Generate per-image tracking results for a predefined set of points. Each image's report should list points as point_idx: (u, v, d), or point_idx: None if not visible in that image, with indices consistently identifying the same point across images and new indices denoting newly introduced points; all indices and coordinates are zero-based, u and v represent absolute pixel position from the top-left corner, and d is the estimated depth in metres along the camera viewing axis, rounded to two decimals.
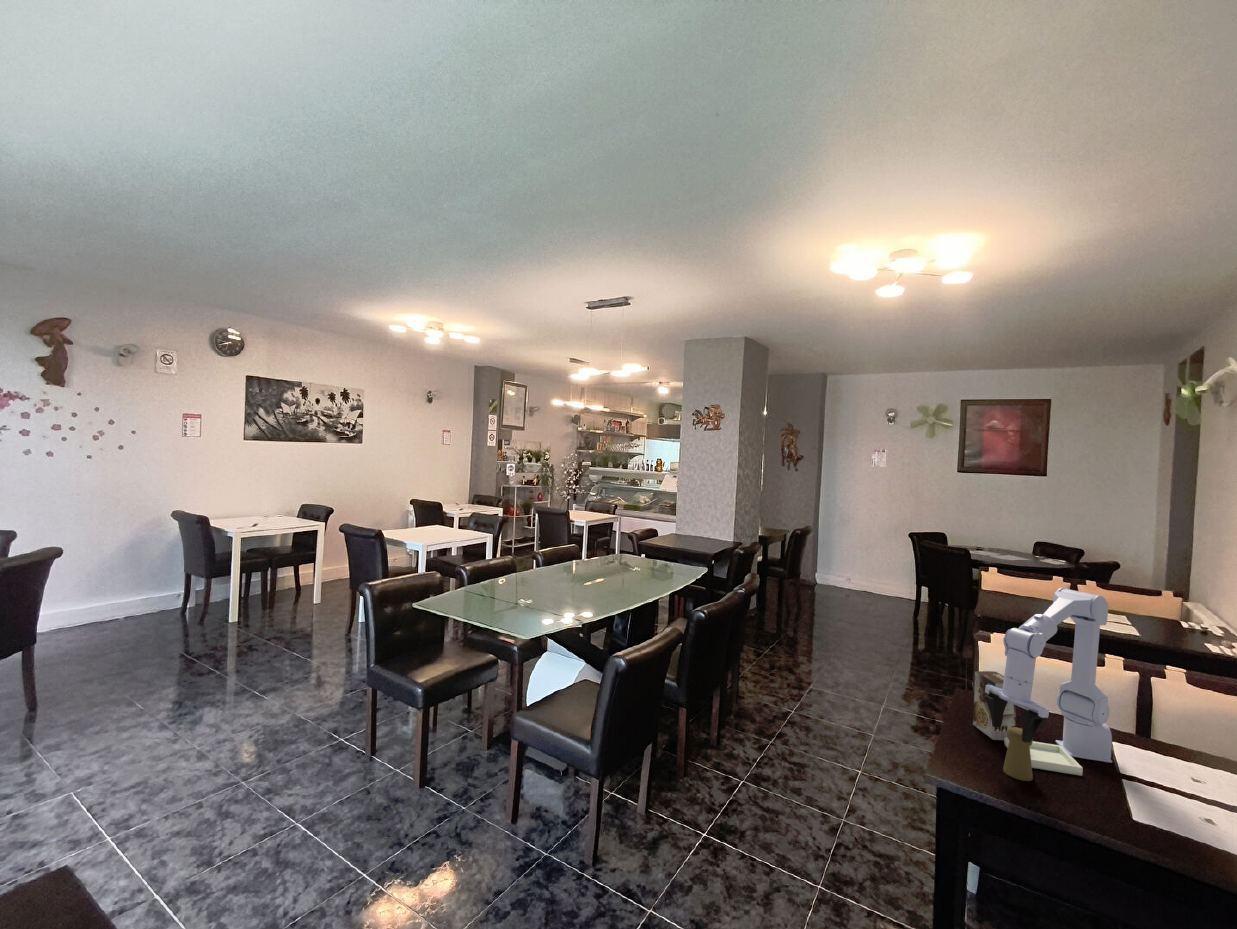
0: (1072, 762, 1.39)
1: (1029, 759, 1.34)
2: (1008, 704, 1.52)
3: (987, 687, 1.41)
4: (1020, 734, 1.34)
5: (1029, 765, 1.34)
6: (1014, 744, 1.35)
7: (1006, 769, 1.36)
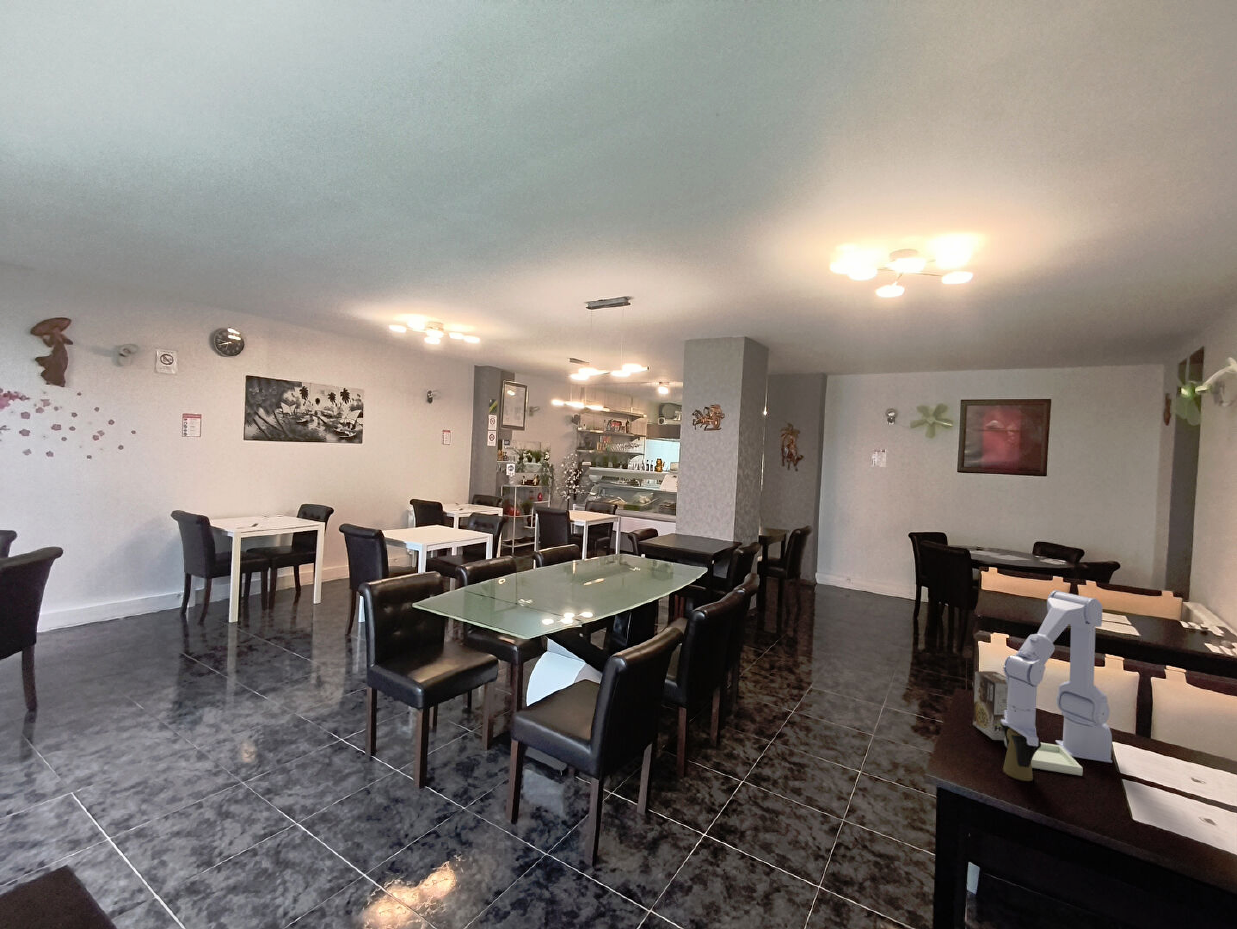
0: (1072, 762, 1.39)
1: None
2: None
3: (1004, 712, 1.42)
4: (1020, 734, 1.34)
5: None
6: (1014, 744, 1.35)
7: (1006, 769, 1.36)
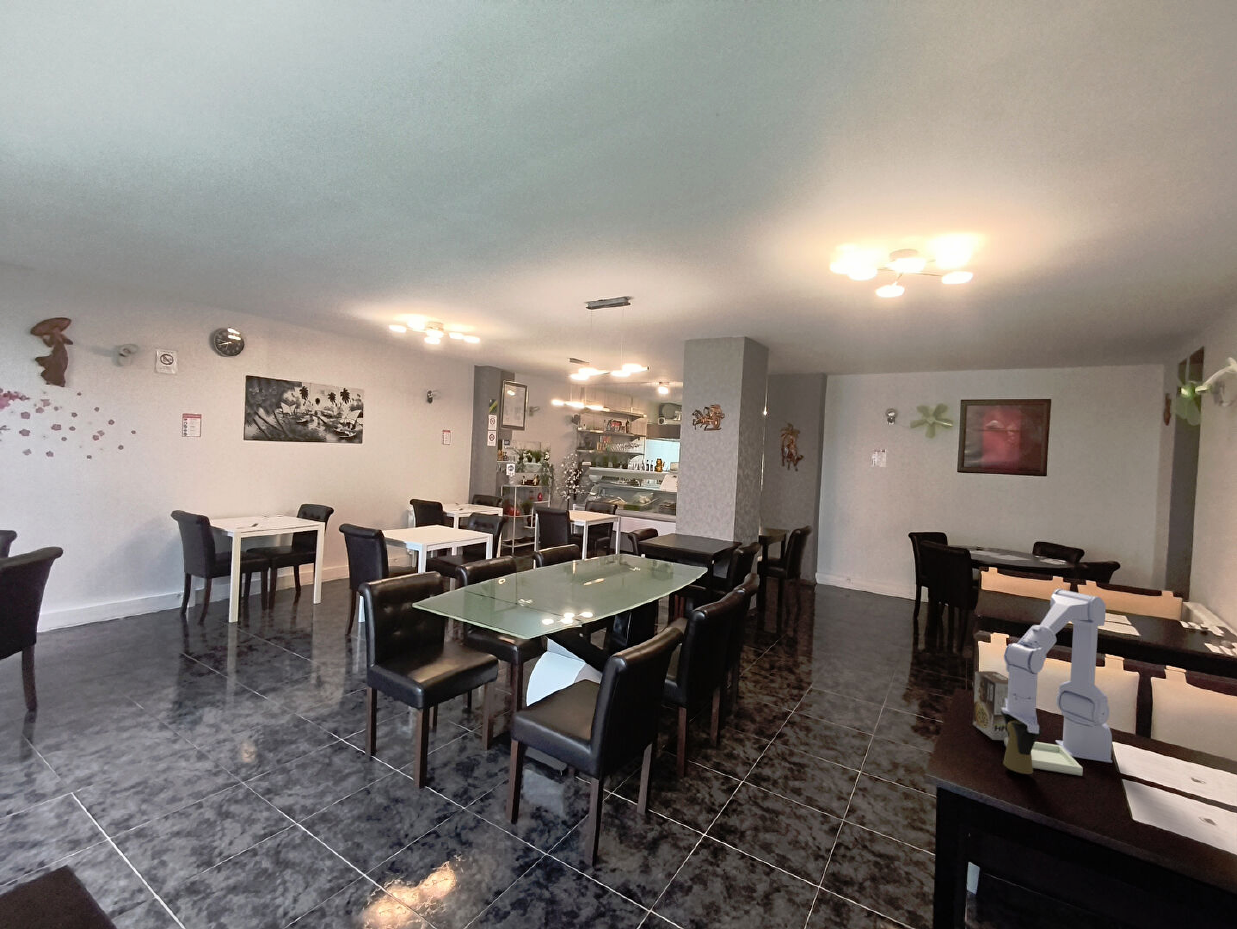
0: (1072, 762, 1.39)
1: None
2: None
3: (1005, 701, 1.42)
4: None
5: (1030, 758, 1.33)
6: (1015, 737, 1.35)
7: (1007, 763, 1.36)
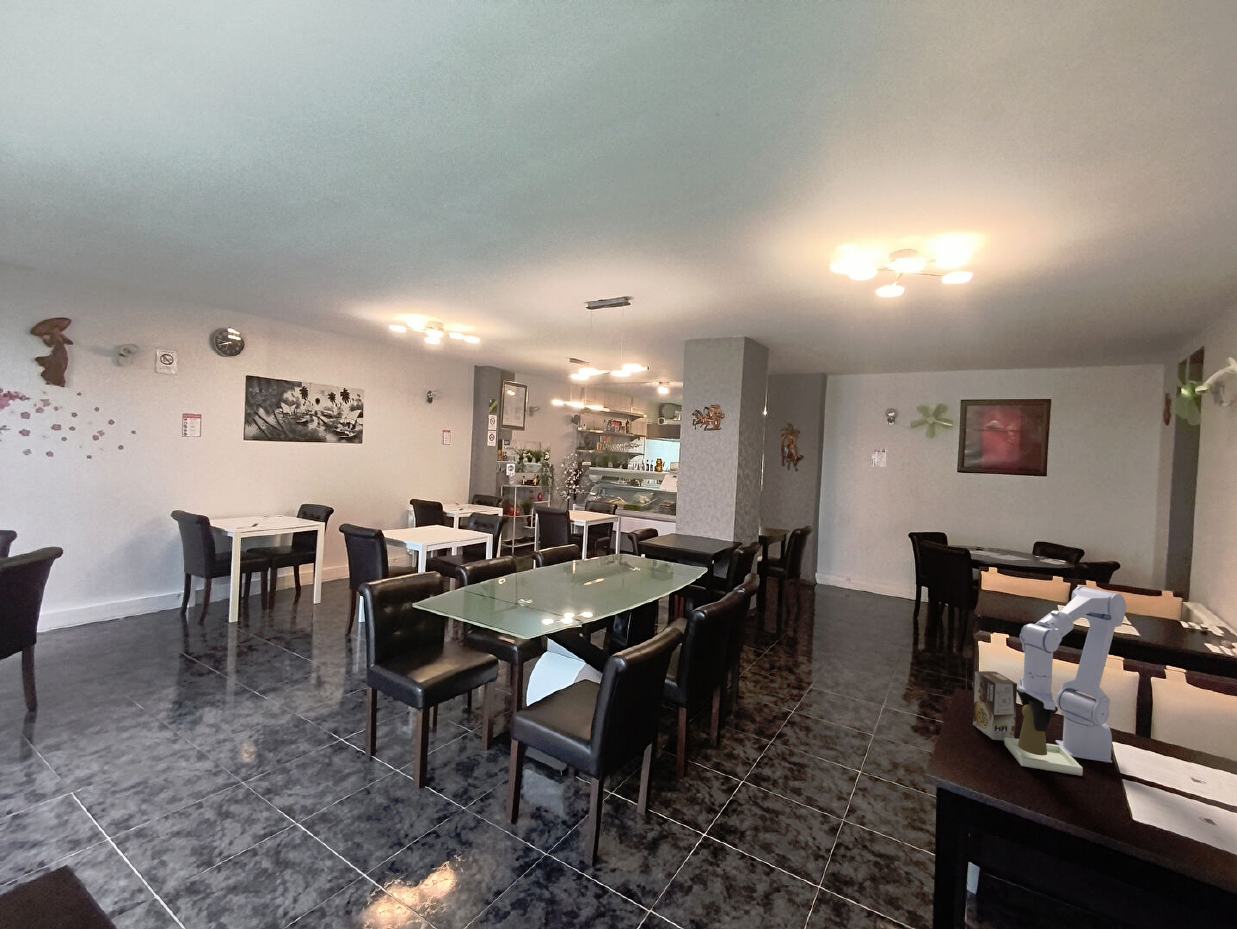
0: (1072, 762, 1.39)
1: (1044, 734, 1.38)
2: (1008, 704, 1.52)
3: (1020, 680, 1.47)
4: None
5: (1044, 740, 1.38)
6: (1030, 720, 1.39)
7: (1022, 745, 1.40)
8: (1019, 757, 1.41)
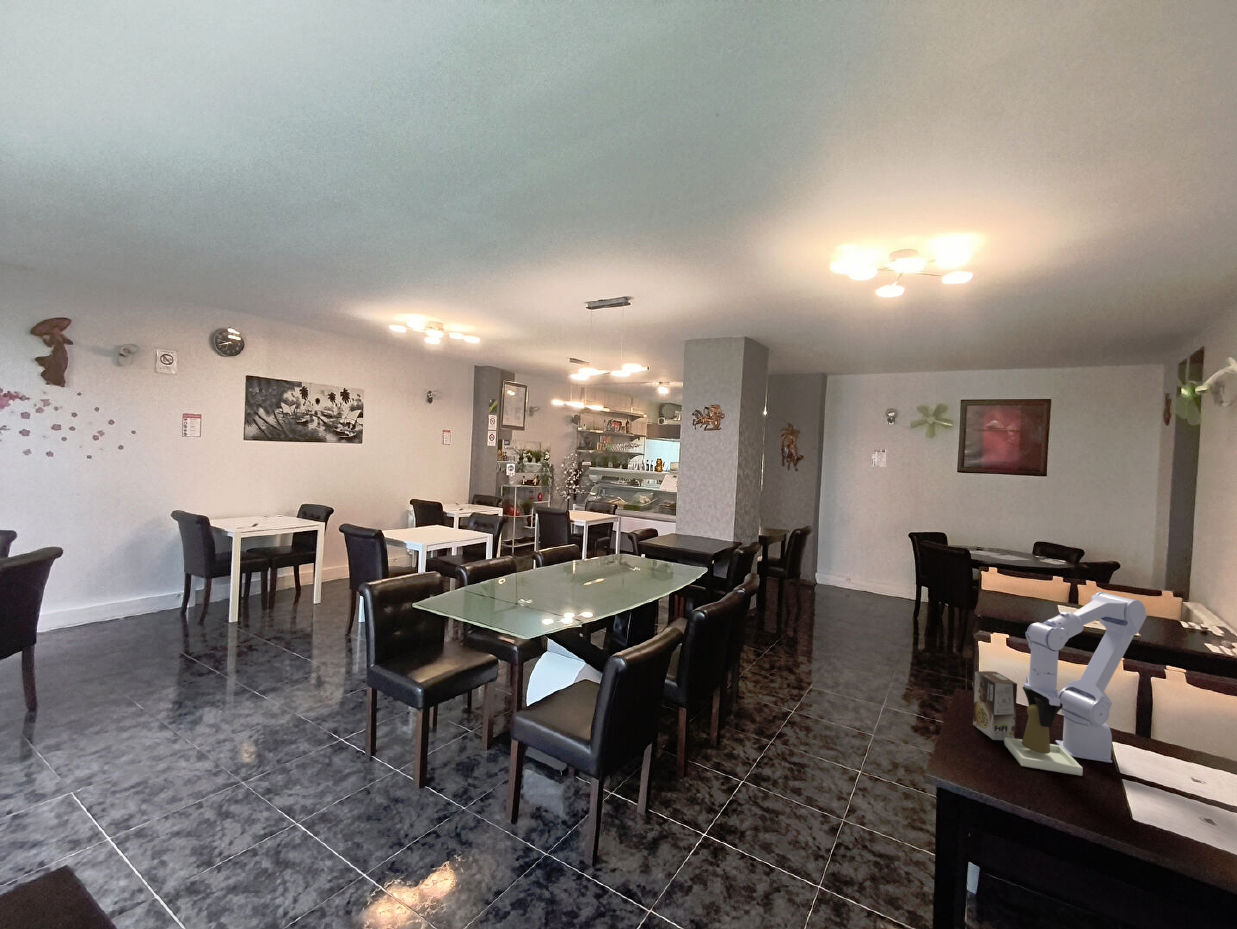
0: (1072, 762, 1.39)
1: (1048, 733, 1.42)
2: (1008, 704, 1.52)
3: (1027, 678, 1.51)
4: None
5: (1048, 739, 1.42)
6: (1034, 720, 1.43)
7: (1026, 743, 1.44)
8: (1019, 757, 1.41)
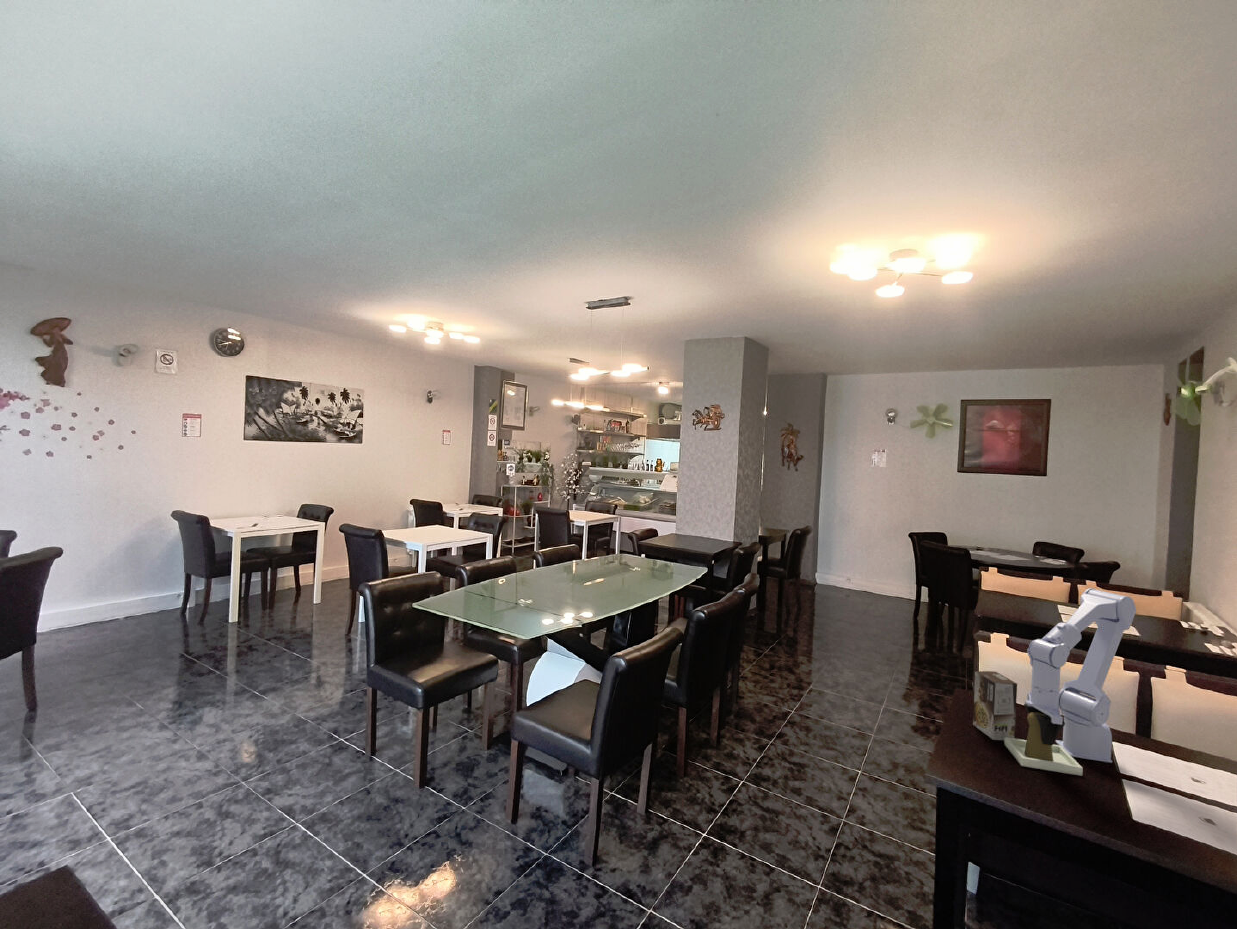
0: (1072, 762, 1.39)
1: None
2: (1008, 704, 1.52)
3: (1028, 694, 1.49)
4: None
5: (1050, 747, 1.41)
6: (1035, 728, 1.42)
7: (1028, 752, 1.43)
8: (1019, 757, 1.41)
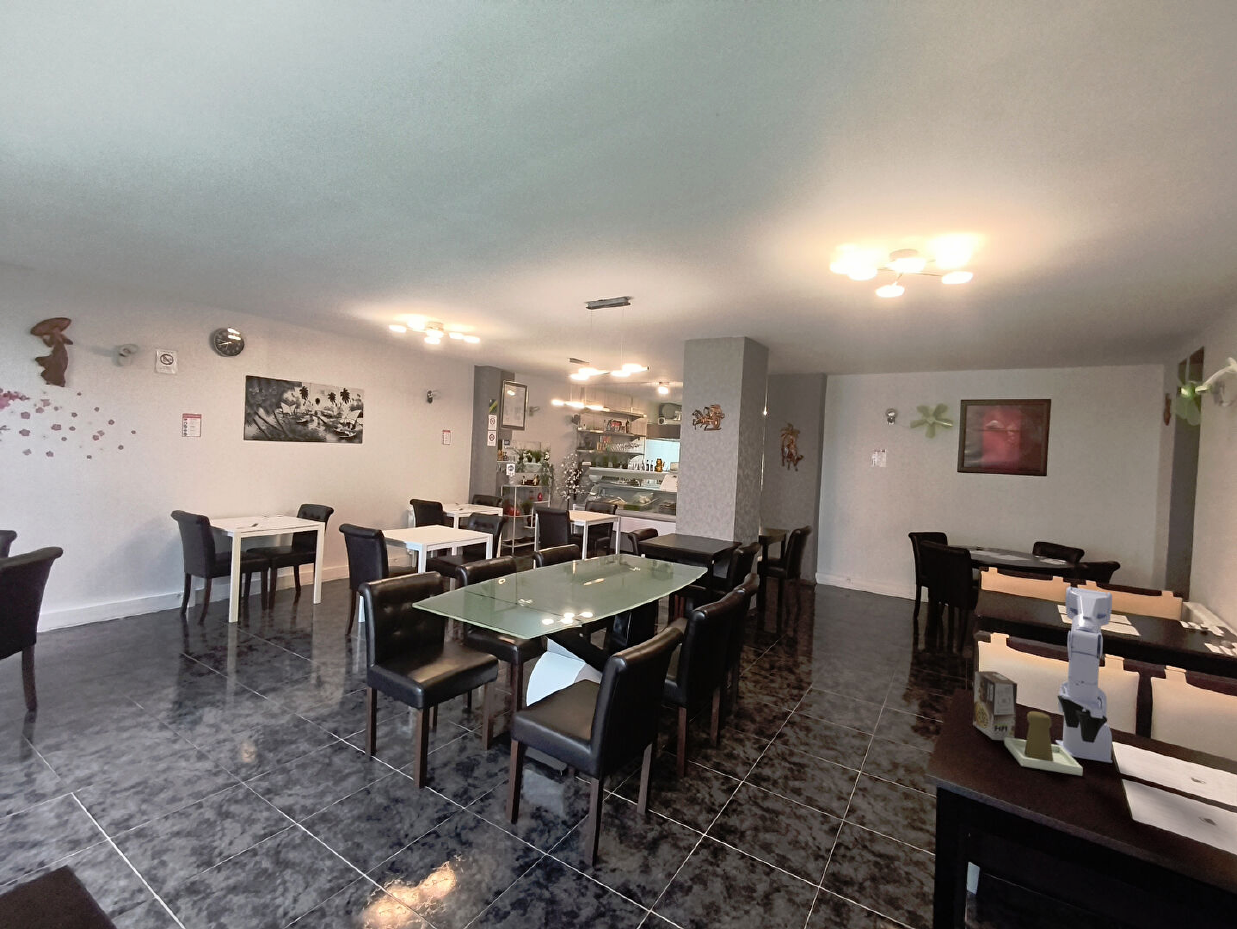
0: (1072, 762, 1.39)
1: (1049, 741, 1.41)
2: (1008, 704, 1.52)
3: (1063, 688, 1.42)
4: (1040, 716, 1.42)
5: (1050, 746, 1.41)
6: (1035, 726, 1.42)
7: (1028, 752, 1.43)
8: (1019, 757, 1.41)
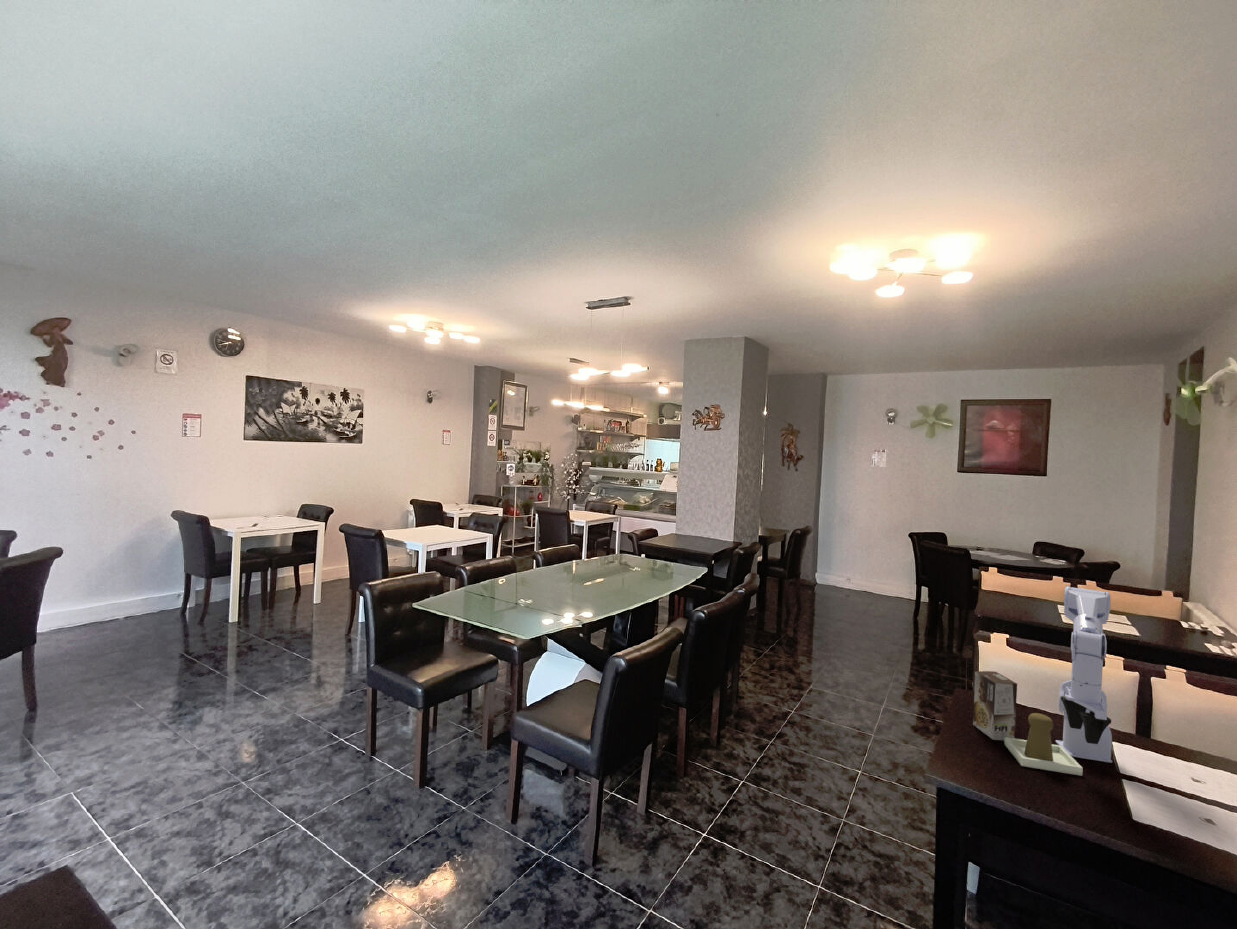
0: (1072, 762, 1.39)
1: (1050, 743, 1.41)
2: (1008, 704, 1.52)
3: (1066, 689, 1.42)
4: (1042, 719, 1.41)
5: (1050, 748, 1.41)
6: (1036, 729, 1.42)
7: (1028, 753, 1.42)
8: (1019, 757, 1.41)
